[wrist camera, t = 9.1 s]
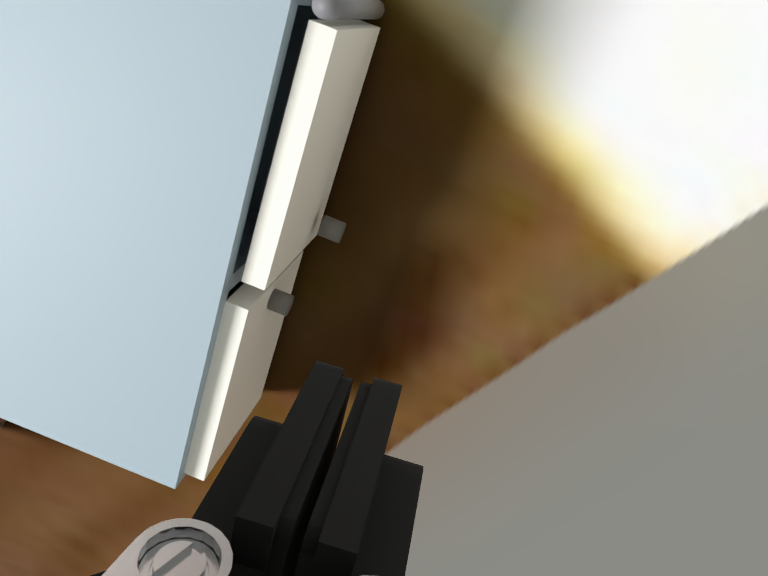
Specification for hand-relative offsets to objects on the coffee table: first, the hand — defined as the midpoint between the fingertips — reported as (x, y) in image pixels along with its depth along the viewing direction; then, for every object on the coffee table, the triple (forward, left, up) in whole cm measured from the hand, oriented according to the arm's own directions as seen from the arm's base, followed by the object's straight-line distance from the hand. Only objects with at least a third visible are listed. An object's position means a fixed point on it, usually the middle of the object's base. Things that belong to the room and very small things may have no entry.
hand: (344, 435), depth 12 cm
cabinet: (+4, -12, -20) cm, 23 cm away
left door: (-1, -5, -20) cm, 20 cm away
